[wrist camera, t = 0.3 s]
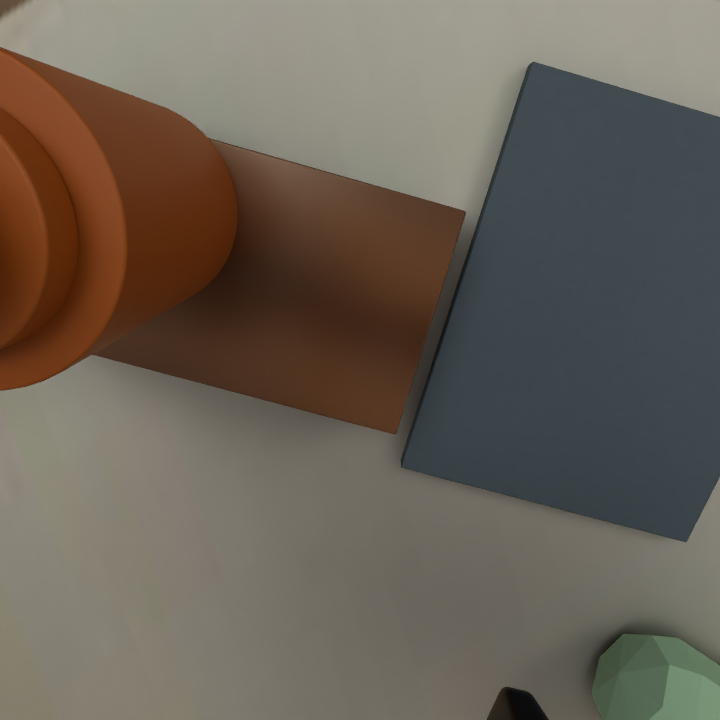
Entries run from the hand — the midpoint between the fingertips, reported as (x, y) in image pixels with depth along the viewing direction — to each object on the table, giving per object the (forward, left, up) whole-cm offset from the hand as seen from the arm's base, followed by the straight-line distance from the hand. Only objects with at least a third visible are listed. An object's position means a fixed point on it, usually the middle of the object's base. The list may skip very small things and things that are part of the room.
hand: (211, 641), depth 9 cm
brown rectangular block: (+3, +3, -14) cm, 15 cm away
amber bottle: (+5, +6, -11) cm, 13 cm away
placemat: (+5, -10, -14) cm, 18 cm away
